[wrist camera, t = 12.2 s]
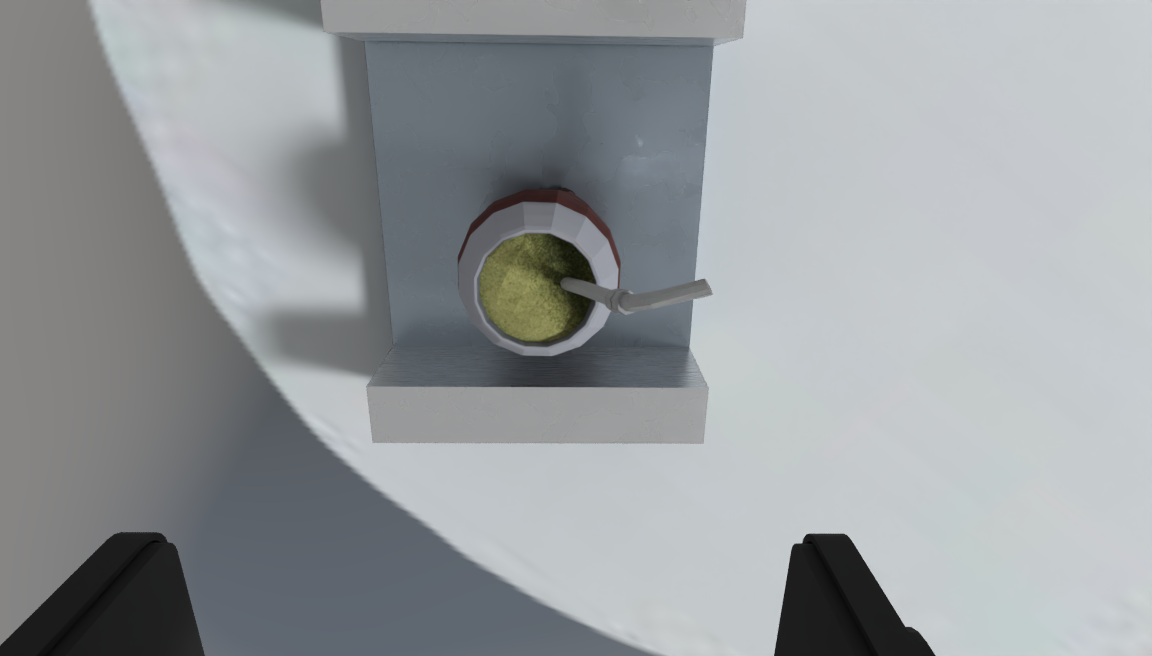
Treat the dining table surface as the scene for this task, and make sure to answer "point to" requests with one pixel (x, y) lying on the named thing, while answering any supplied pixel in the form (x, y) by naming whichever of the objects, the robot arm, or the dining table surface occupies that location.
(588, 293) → the mate gourd
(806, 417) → the dining table surface
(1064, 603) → the dining table surface
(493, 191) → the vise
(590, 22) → the vise jaw
